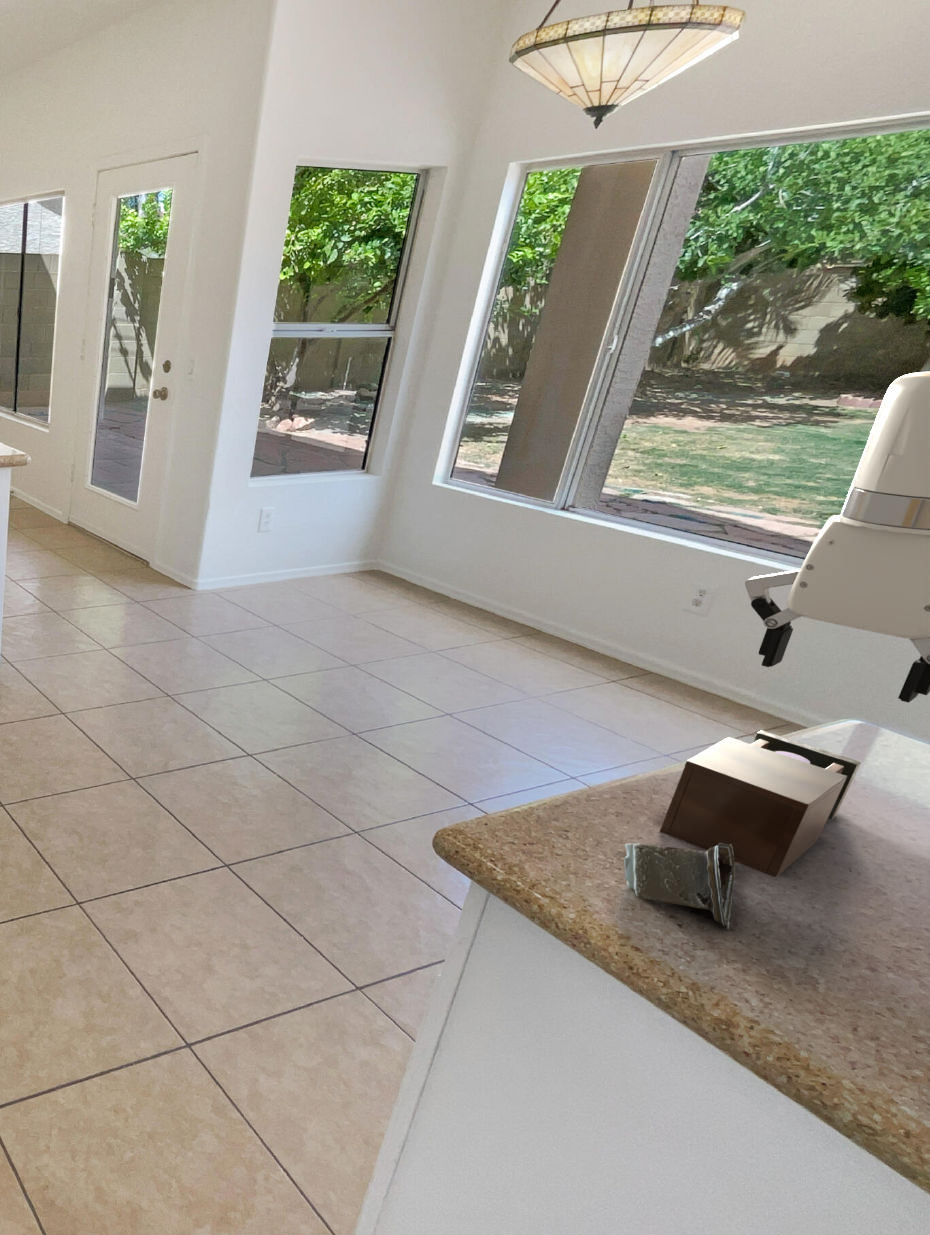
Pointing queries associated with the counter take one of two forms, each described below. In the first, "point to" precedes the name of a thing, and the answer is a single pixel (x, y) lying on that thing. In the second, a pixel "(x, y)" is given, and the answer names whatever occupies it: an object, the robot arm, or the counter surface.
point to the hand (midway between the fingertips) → (836, 680)
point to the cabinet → (752, 804)
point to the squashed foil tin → (683, 876)
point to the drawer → (813, 760)
